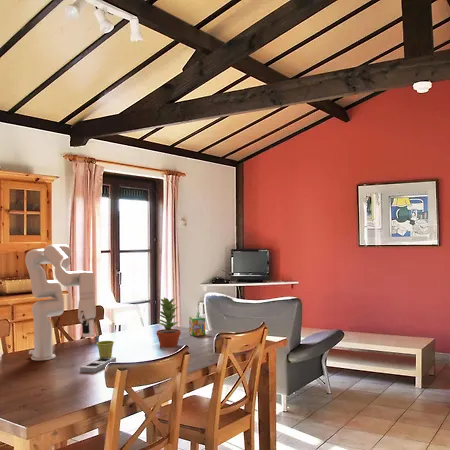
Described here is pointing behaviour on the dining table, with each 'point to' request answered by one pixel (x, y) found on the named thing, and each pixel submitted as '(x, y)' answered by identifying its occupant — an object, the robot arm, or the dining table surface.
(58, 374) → the dining table surface
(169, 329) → the potted plant
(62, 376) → the dining table surface
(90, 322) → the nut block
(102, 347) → the plant pot
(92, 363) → the grey slotted tray
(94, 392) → the dining table surface
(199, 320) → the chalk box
